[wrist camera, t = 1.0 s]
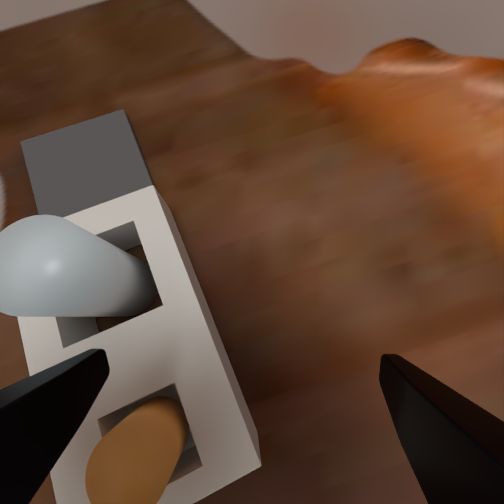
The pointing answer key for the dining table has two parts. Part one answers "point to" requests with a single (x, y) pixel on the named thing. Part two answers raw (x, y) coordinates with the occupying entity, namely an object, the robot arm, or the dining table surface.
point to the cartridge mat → (85, 165)
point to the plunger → (138, 454)
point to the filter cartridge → (69, 272)
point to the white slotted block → (152, 360)
